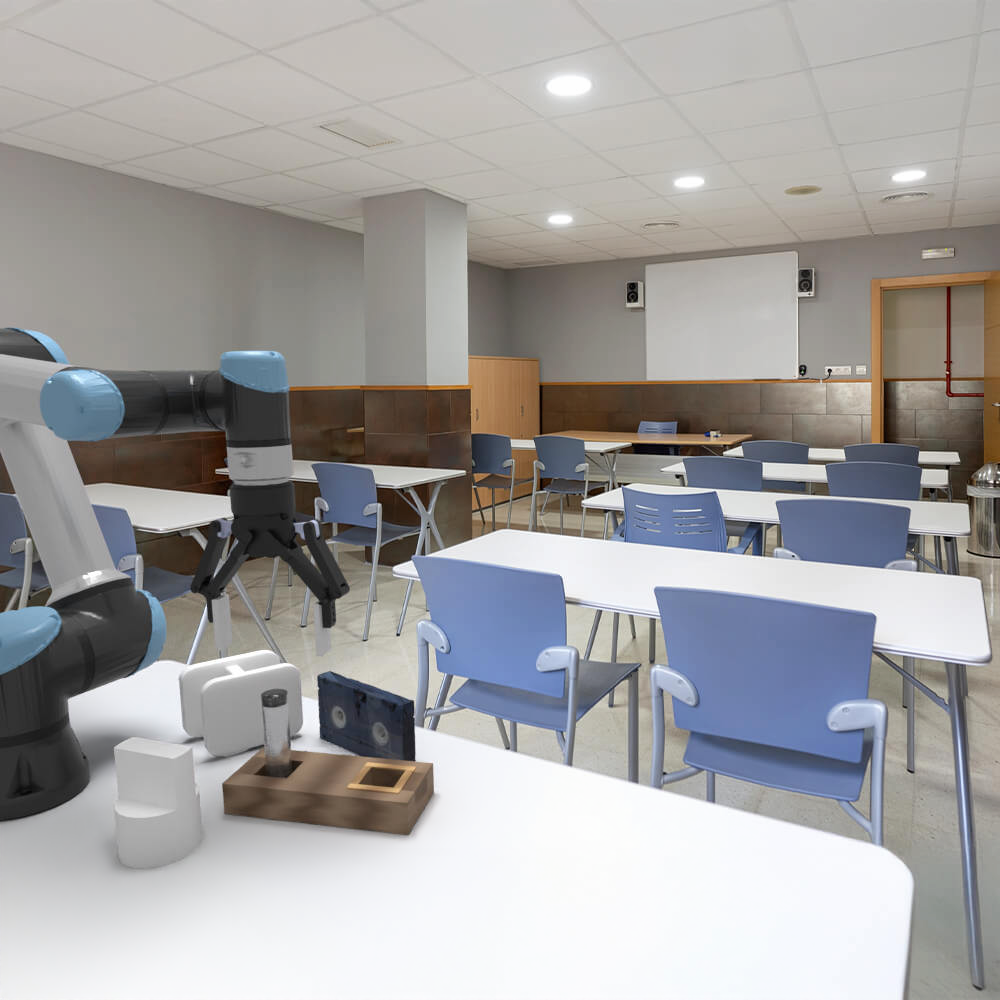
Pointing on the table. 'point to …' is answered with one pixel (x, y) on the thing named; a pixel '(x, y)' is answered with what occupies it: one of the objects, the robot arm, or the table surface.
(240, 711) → the cable organizer
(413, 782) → the mount block
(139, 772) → the cylinder with rectangular tab
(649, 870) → the table surface
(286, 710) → the lock pin
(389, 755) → the vhs cassette tape
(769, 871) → the table surface
